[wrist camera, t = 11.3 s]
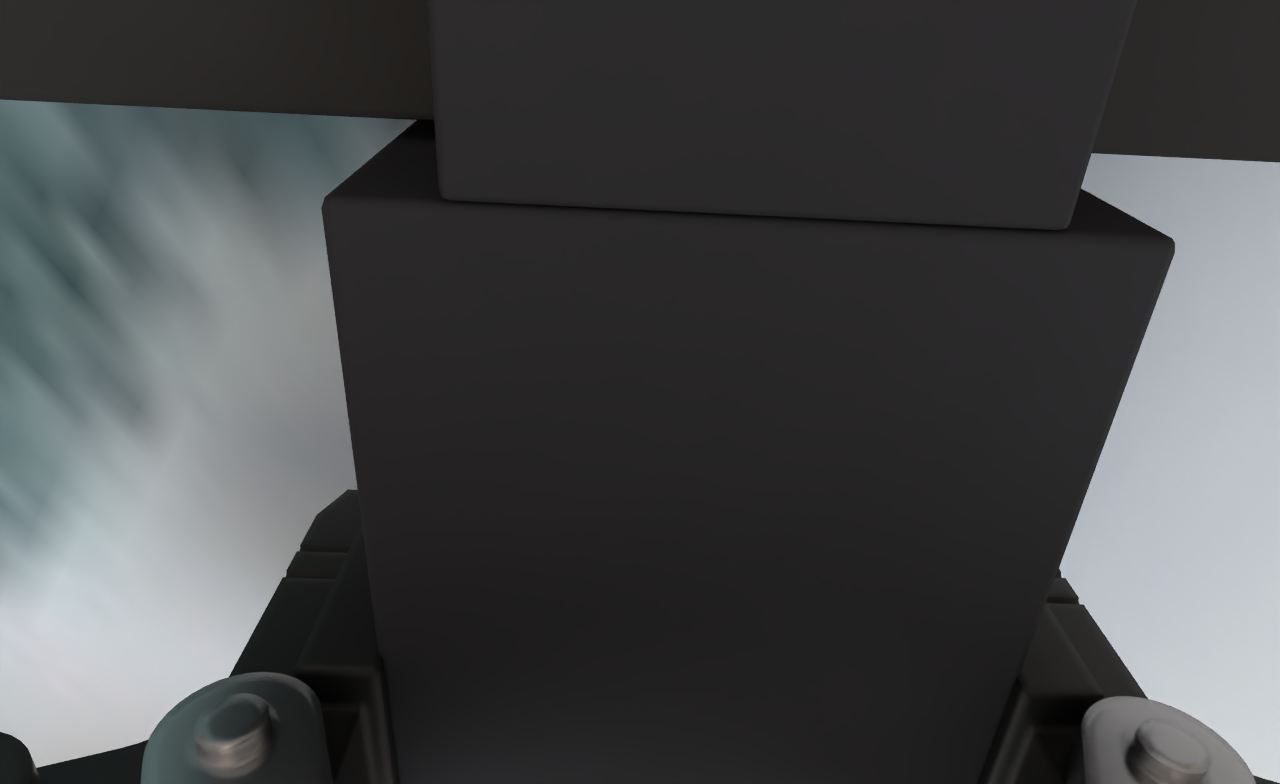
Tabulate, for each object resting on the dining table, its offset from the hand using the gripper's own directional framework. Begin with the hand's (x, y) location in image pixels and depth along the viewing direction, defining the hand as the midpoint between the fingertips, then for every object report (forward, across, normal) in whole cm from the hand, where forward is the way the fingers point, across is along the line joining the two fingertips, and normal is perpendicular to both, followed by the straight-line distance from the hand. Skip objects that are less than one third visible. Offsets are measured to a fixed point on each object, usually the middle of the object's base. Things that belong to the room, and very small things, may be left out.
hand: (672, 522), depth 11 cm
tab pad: (0, 0, -1) cm, 1 cm away
